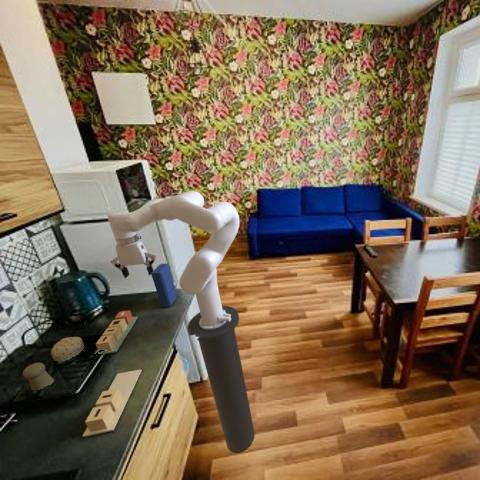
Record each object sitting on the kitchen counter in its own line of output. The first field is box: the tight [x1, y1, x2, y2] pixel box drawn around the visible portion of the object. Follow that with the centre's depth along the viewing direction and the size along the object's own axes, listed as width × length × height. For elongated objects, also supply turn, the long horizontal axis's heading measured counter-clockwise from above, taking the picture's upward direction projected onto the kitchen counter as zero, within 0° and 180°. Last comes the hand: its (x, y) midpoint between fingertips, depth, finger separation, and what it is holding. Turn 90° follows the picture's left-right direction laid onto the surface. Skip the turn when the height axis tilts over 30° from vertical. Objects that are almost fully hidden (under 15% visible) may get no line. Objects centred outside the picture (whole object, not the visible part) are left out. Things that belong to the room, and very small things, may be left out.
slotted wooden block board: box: [82, 369, 143, 438], centre depth 88 cm, size 22×8×5 cm, turn 12°
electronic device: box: [150, 263, 179, 308], centre depth 135 cm, size 10×5×20 cm, turn 6°
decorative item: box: [50, 336, 85, 362], centre depth 105 cm, size 10×10×10 cm
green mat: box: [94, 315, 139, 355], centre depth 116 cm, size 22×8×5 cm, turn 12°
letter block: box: [114, 310, 134, 324], centre depth 123 cm, size 4×4×5 cm
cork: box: [22, 362, 55, 391], centre depth 91 cm, size 6×6×11 cm
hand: (139, 274), depth 118 cm, fingers open, 9 cm apart
